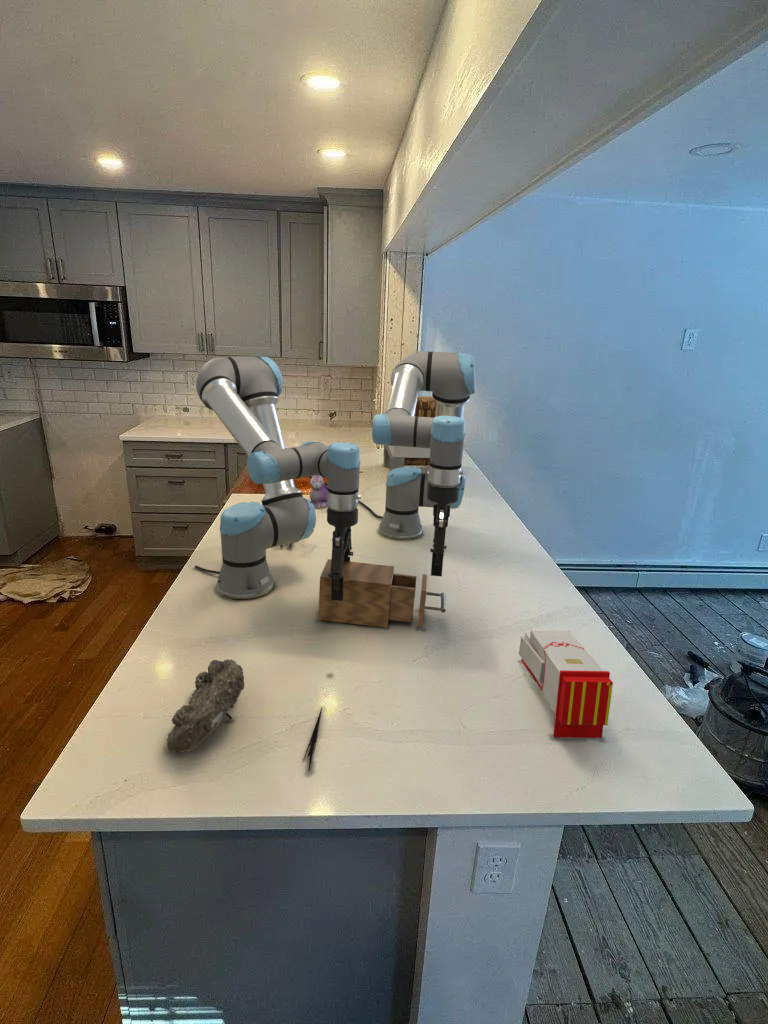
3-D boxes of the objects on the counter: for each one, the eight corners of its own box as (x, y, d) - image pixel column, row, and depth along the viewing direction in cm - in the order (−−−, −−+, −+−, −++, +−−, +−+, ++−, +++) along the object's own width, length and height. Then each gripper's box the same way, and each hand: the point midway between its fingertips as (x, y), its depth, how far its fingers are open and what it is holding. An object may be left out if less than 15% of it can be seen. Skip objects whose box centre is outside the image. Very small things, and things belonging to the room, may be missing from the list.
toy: (565, 614, 131) (622, 678, 102) (559, 667, 134) (613, 744, 105) (513, 613, 131) (555, 677, 102) (509, 666, 134) (548, 744, 104)
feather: (331, 679, 122) (336, 673, 122) (307, 777, 96) (313, 769, 95) (324, 675, 122) (329, 669, 121) (298, 772, 95) (304, 764, 95)
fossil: (192, 660, 117) (244, 628, 112) (224, 691, 120) (276, 661, 115) (142, 746, 98) (202, 712, 93) (182, 779, 101) (242, 748, 96)
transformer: (382, 463, 289) (386, 382, 275) (445, 464, 293) (451, 384, 279) (390, 482, 257) (394, 392, 243) (460, 483, 261) (468, 394, 247)
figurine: (313, 510, 219) (313, 472, 214) (304, 501, 227) (304, 465, 222) (335, 507, 223) (336, 470, 218) (326, 499, 231) (326, 463, 226)
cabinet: (390, 607, 151) (394, 566, 146) (387, 627, 141) (391, 584, 137) (326, 599, 152) (328, 558, 148) (318, 619, 142) (320, 576, 138)
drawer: (443, 610, 149) (447, 576, 145) (443, 629, 140) (448, 593, 137) (362, 601, 150) (365, 567, 147) (358, 619, 142) (360, 583, 138)
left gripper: (350, 525, 126) (348, 613, 133) (364, 494, 147) (361, 570, 155) (317, 523, 126) (316, 610, 134) (335, 491, 148) (334, 568, 155)
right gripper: (460, 493, 126) (451, 588, 134) (459, 477, 138) (451, 564, 146) (426, 490, 126) (420, 585, 134) (428, 474, 139) (422, 562, 147)
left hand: (340, 589), depth 144 cm, fingers closed on cabinet, 10 cm apart
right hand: (436, 574), depth 140 cm, fingers closed
